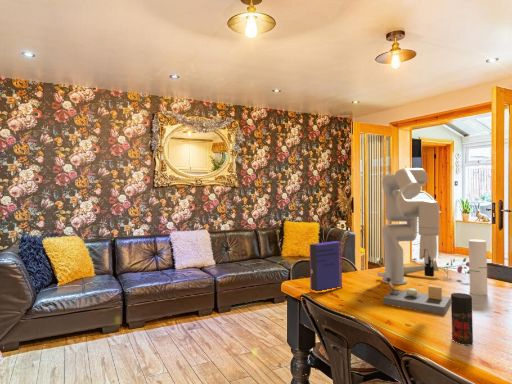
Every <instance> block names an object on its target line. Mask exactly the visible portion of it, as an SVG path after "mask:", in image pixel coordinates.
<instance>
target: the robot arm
mask: <svg viewBox="0 0 512 384" xmlns="http://www.w3.org/2000/svg"><path fill="white" fill-rule="evenodd" d="M427 182H428V173H427V171H426V170H425V169H424V168H421V167H412V168H411V167H410V168H407V167H406V168H401V169H398V170H397V171H395V173H388V174H385V175H384V176H383V177H382V182H381V184H382V189H383V192H384V196H385V197H384V198H385V204H384V205H385V206H384V207H385V210H384V211H385V214H384V215H385V219H386V220H387V222H393V223H387V224H385V225H384V226H382V228H381V232H382V238H383V244H384V245H383V246H384V247H383V248H384V250H383V251H384V272H380V271H379V272H377V276H378V277H380V278H381V277H382V279H381V281H382V282H383V283H385V284H389V282H387V281H386V278H387V277H389V278H390V279H391V283H392V285H405V284H407V283H408V279H406V278H405V275H404V249H403V247H402V245H401V244H400V243H399V242H413V241H415V240H416V239H417V235H419V236H420V238H419V254H418V255H419V257H418V258H419V259H420V260H423V259H424V264H425V271H424V276H425V277H431V278H432V277H434V276H435V271H434V261H435V259H436V257H437V252H438V251H437V250H438V249H437V247H438V246H437V245H438V244H437V243H438V242H437V237H439V236H440V217H439V216H440V205H439V202H438V201H436V200H432V199H423V198H422V199H418V198H417V199H413V198H415V197H417V196H418V195H420V194H421V190H422V187H423V186H425V185H426V184H427ZM394 222H395V223H394ZM396 222H402V223H396Z"/></svg>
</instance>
